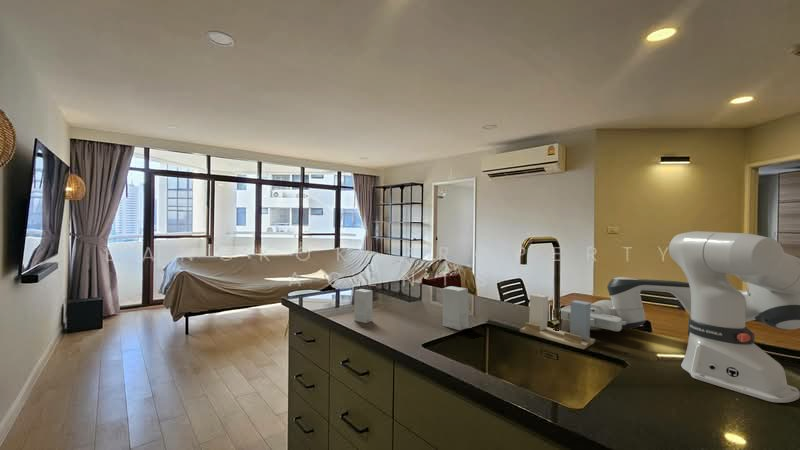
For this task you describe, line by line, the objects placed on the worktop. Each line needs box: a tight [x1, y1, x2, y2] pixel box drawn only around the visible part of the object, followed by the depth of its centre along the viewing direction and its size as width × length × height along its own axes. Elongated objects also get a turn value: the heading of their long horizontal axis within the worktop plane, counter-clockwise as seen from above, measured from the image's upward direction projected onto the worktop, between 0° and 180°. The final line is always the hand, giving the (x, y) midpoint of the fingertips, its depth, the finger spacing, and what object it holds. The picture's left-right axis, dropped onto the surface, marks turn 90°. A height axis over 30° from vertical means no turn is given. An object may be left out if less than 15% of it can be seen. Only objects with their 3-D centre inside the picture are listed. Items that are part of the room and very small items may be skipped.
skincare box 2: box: [441, 285, 469, 331], centre depth 131 cm, size 8×6×15 cm
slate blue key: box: [569, 299, 592, 340], centre depth 119 cm, size 4×5×12 cm
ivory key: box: [528, 293, 549, 330], centre depth 129 cm, size 4×5×12 cm
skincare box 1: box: [353, 288, 374, 324], centre depth 136 cm, size 6×4×12 cm
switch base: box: [519, 322, 596, 350], centre depth 123 cm, size 10×22×3 cm, turn 43°
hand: (582, 322), depth 121 cm, fingers closed
